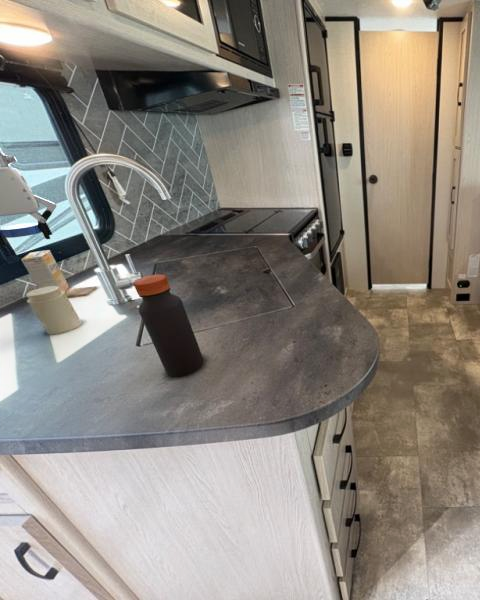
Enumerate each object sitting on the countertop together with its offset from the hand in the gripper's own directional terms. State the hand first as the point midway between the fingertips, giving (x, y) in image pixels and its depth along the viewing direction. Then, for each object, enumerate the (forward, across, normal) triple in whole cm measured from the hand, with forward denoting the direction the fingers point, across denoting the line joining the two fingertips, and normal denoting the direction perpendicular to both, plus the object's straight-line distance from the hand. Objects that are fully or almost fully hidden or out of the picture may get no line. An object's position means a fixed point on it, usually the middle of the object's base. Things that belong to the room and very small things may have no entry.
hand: (26, 240), depth 77 cm
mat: (+21, -3, -19) cm, 29 cm away
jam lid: (-3, 0, 0) cm, 3 cm away
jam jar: (+21, +1, +8) cm, 23 cm away
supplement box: (+22, +2, -24) cm, 33 cm away
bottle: (+21, -17, +50) cm, 56 cm away
